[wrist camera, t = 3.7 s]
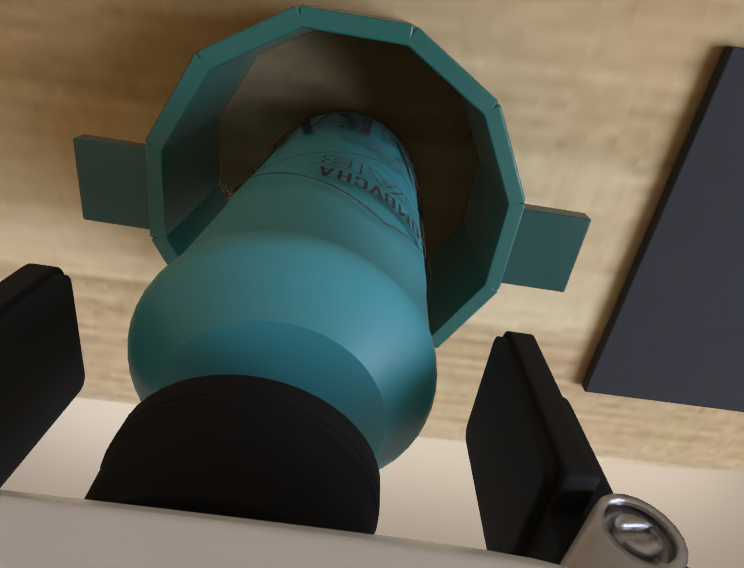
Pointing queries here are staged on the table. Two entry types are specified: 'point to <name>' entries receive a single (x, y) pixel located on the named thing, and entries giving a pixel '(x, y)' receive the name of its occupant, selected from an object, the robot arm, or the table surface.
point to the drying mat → (688, 271)
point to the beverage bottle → (285, 342)
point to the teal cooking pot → (204, 196)
